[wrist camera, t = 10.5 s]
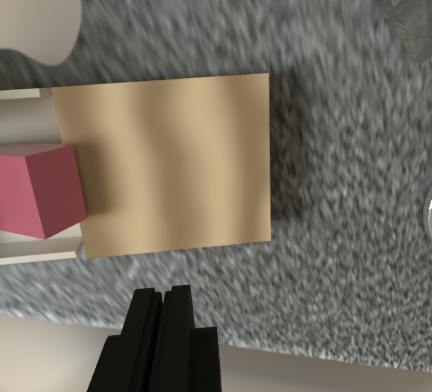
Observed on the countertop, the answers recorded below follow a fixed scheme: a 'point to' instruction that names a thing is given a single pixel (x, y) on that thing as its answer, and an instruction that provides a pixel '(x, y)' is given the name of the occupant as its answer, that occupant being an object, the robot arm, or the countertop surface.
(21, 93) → the tray
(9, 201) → the pink toy cube
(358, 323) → the countertop surface
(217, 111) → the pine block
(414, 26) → the stone
